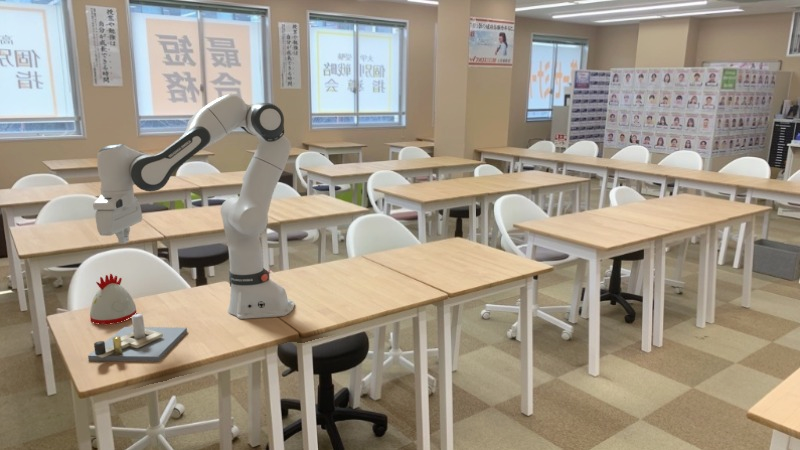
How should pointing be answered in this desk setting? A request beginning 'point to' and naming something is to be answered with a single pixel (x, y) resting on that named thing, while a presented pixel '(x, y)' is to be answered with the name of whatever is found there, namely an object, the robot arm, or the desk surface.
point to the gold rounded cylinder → (117, 345)
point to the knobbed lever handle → (127, 342)
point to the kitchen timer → (111, 302)
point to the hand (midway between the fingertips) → (124, 242)
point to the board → (147, 351)
